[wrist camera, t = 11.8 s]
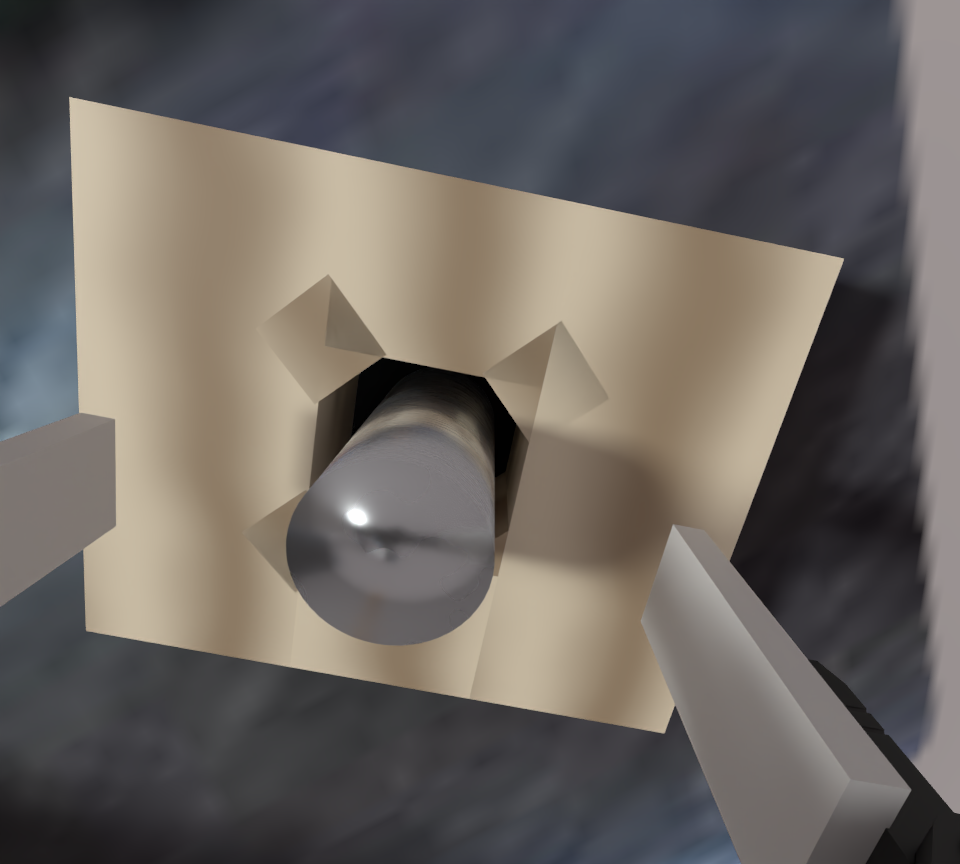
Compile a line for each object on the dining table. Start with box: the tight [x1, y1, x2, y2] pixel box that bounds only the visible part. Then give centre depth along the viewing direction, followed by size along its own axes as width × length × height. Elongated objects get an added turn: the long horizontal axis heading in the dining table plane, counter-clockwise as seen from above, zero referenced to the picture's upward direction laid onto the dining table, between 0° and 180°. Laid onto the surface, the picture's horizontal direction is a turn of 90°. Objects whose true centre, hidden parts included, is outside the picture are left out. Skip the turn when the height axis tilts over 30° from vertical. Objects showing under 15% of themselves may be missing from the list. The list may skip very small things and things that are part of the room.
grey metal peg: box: [286, 367, 495, 646], centre depth 16 cm, size 4×4×10 cm
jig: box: [69, 97, 844, 733], centre depth 18 cm, size 20×16×5 cm
